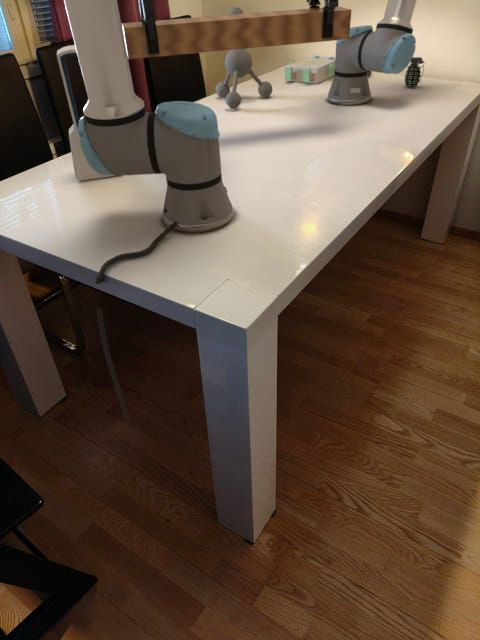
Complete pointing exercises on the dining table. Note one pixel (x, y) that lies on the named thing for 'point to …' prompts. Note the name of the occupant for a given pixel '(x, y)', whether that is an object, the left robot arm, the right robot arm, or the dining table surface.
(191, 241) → the dining table surface
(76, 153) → the electronic device
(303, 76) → the decorative block
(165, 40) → the long wooden beam
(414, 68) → the grenade
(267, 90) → the molecular model
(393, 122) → the dining table surface
